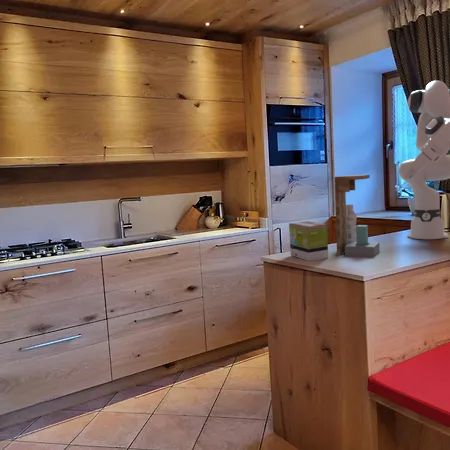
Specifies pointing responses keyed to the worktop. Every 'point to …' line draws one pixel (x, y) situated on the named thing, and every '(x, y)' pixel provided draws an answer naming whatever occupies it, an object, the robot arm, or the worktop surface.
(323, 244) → the tea box
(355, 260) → the worktop surface
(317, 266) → the worktop surface
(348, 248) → the socket block
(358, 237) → the peg
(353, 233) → the plastic bottle
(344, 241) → the wooden post stand
